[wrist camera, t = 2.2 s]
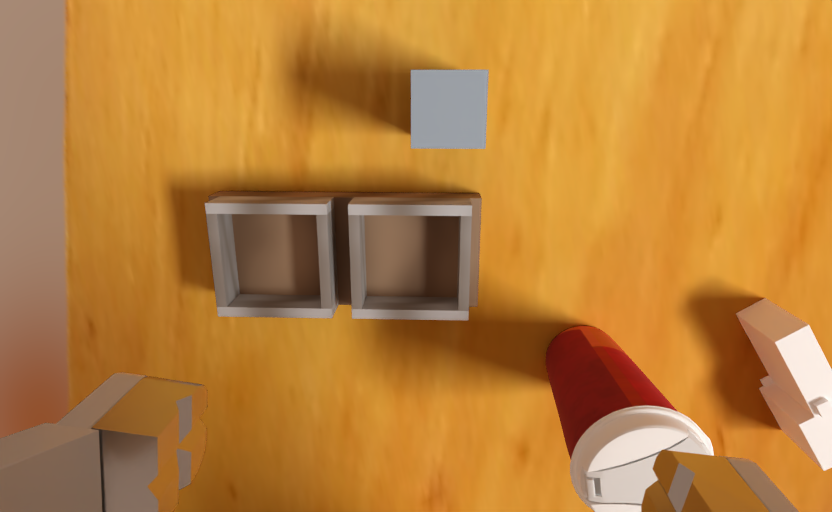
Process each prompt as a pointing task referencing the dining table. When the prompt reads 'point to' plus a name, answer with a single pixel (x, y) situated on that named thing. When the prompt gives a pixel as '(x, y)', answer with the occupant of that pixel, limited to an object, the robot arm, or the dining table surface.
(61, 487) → the robot arm
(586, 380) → the paper cup
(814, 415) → the white notched slab
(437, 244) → the two-compartment tray
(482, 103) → the gray rectangular block
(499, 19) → the dining table surface
